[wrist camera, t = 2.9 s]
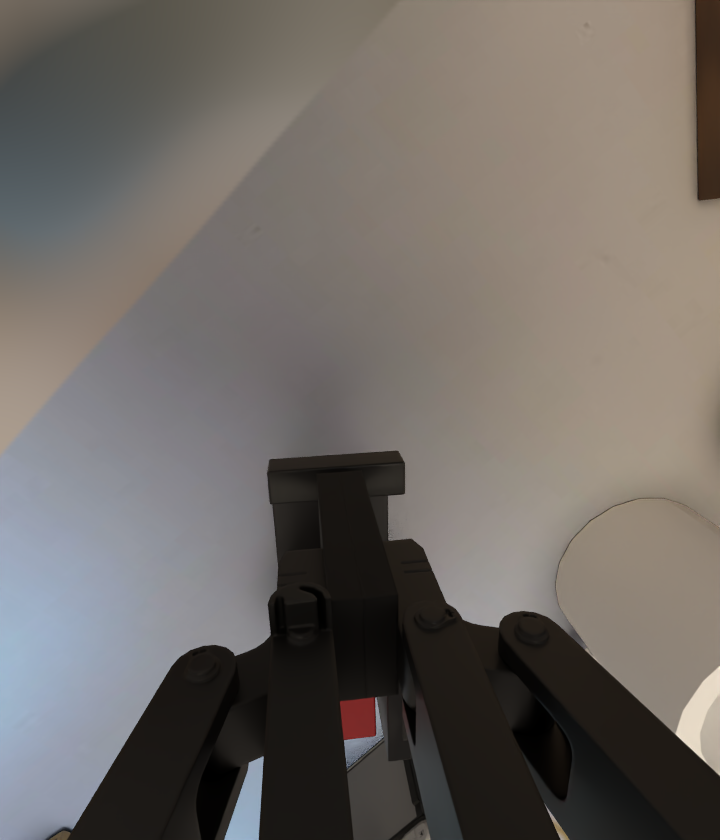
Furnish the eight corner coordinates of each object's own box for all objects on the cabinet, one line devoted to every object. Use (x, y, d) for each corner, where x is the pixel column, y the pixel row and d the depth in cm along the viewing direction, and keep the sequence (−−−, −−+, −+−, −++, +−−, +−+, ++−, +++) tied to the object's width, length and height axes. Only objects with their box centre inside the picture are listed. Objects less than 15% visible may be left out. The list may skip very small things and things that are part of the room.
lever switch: (271, 471, 27) (258, 586, 18) (383, 463, 28) (426, 570, 19) (290, 680, 32) (287, 857, 23) (386, 669, 33) (422, 837, 23)
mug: (613, 694, 35) (737, 871, 25) (493, 645, 33) (580, 820, 23) (743, 538, 32) (942, 668, 22) (623, 470, 30) (788, 583, 20)
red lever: (269, 453, 20) (266, 477, 18) (396, 445, 21) (408, 467, 18) (290, 700, 24) (290, 747, 21) (398, 688, 24) (409, 732, 22)
